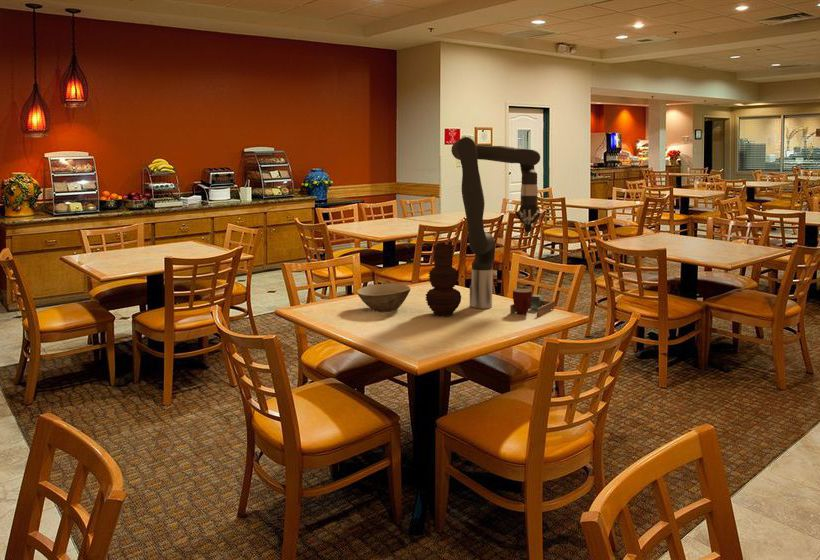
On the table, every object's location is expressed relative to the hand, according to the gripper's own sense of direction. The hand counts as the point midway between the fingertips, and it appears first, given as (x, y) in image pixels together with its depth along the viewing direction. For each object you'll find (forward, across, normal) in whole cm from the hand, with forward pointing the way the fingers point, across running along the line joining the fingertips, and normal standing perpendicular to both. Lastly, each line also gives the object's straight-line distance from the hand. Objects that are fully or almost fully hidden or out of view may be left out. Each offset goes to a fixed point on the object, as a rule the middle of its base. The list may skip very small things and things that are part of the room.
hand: (528, 232), depth 315 cm
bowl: (+32, -46, -50) cm, 75 cm away
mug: (+32, +10, -25) cm, 42 cm away
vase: (+32, -19, -44) cm, 58 cm away
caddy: (+32, +11, -18) cm, 39 cm away
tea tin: (+32, +11, -13) cm, 36 cm away
